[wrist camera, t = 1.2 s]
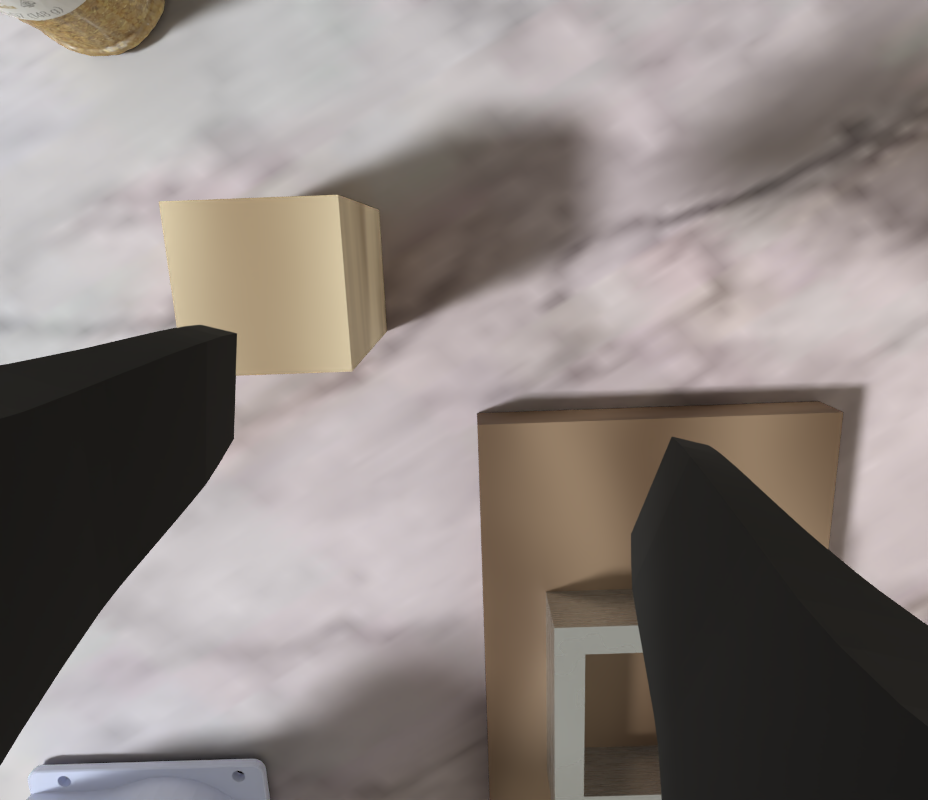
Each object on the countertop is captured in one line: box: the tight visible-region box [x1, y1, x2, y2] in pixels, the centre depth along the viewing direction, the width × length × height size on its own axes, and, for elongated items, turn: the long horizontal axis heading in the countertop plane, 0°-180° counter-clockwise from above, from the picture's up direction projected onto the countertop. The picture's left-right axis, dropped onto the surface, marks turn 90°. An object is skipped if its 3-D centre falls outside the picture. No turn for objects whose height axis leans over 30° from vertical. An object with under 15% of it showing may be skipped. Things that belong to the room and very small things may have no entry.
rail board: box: [477, 401, 843, 800], centre depth 24 cm, size 12×20×2 cm, turn 2°
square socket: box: [546, 589, 662, 800], centre depth 22 cm, size 8×8×2 cm
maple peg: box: [159, 195, 387, 376], centre depth 18 cm, size 4×4×7 cm
